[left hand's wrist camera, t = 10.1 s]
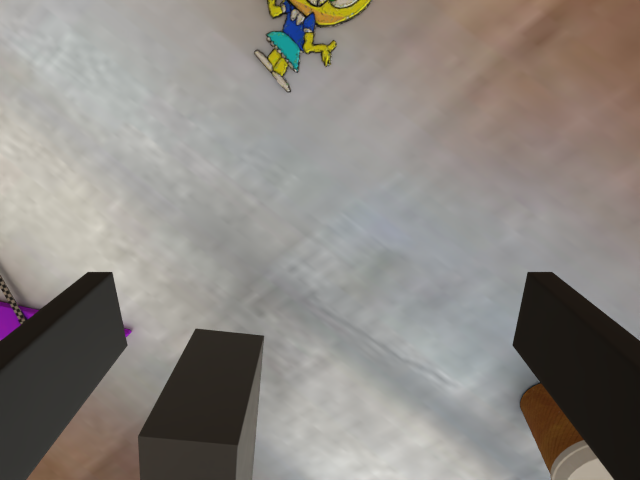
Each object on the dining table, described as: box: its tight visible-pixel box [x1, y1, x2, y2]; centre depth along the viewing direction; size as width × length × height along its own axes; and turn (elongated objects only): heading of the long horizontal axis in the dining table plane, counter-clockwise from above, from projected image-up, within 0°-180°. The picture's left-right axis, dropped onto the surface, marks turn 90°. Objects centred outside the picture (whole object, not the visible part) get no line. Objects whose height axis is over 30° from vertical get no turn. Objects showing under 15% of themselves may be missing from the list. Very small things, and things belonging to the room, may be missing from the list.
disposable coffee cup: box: [520, 384, 614, 480], centre depth 47 cm, size 10×10×12 cm
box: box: [138, 329, 264, 480], centre depth 34 cm, size 20×6×12 cm, turn 173°
